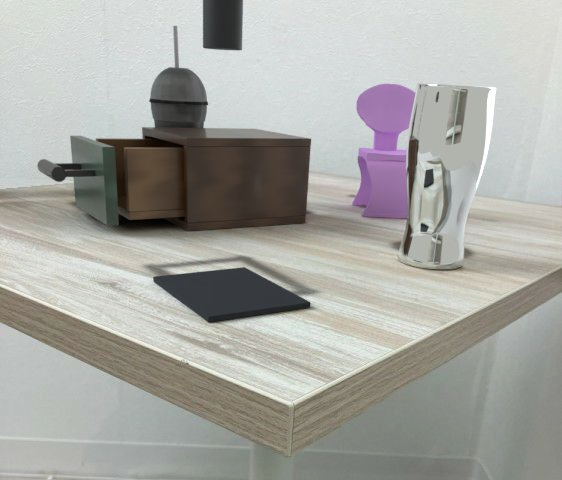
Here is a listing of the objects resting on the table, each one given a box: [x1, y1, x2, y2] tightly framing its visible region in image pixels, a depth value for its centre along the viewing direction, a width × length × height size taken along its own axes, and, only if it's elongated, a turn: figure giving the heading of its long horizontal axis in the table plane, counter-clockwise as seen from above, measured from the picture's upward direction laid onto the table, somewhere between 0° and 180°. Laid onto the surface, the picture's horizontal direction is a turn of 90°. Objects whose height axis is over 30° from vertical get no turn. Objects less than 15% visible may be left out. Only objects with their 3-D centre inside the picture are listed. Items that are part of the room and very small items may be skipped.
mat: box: [152, 266, 312, 323], centre depth 48 cm, size 10×8×1 cm
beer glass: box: [397, 82, 497, 271], centre depth 57 cm, size 7×7×15 cm
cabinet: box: [141, 126, 312, 232], centre depth 73 cm, size 15×13×9 cm
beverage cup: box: [148, 25, 209, 128], centre depth 81 cm, size 7×7×20 cm
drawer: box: [36, 135, 185, 227], centre depth 68 cm, size 18×11×7 cm, turn 121°
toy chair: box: [351, 83, 416, 219], centre depth 80 cm, size 8×9×15 cm
